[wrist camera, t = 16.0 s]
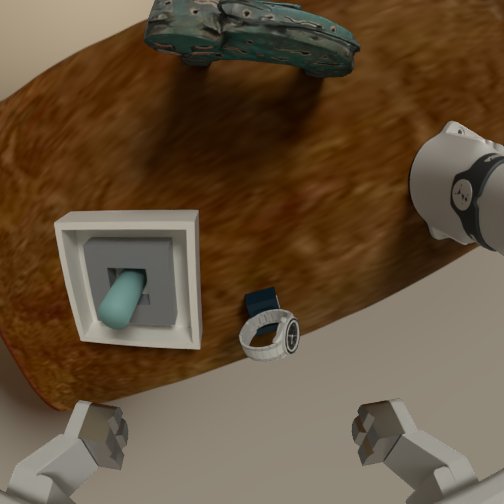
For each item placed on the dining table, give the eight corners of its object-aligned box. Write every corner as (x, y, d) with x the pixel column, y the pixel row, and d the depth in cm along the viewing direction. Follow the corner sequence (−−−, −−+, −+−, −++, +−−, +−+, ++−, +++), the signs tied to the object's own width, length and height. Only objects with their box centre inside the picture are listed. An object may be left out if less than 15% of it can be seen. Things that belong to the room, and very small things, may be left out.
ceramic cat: (172, 73, 34) (119, 33, 16) (178, 27, 32) (137, -42, 13) (328, 91, 36) (408, 72, 18) (334, 46, 34) (411, 0, 15)
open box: (198, 210, 41) (194, 221, 37) (202, 328, 49) (200, 349, 44) (70, 211, 40) (54, 222, 35) (91, 322, 47) (81, 340, 43)
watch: (294, 312, 49) (309, 359, 39) (244, 326, 49) (248, 375, 39) (286, 282, 46) (300, 326, 36) (233, 297, 47) (234, 344, 37)
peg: (146, 264, 43) (126, 302, 34) (149, 289, 44) (131, 330, 35) (119, 263, 43) (94, 300, 33) (123, 288, 44) (101, 328, 35)
